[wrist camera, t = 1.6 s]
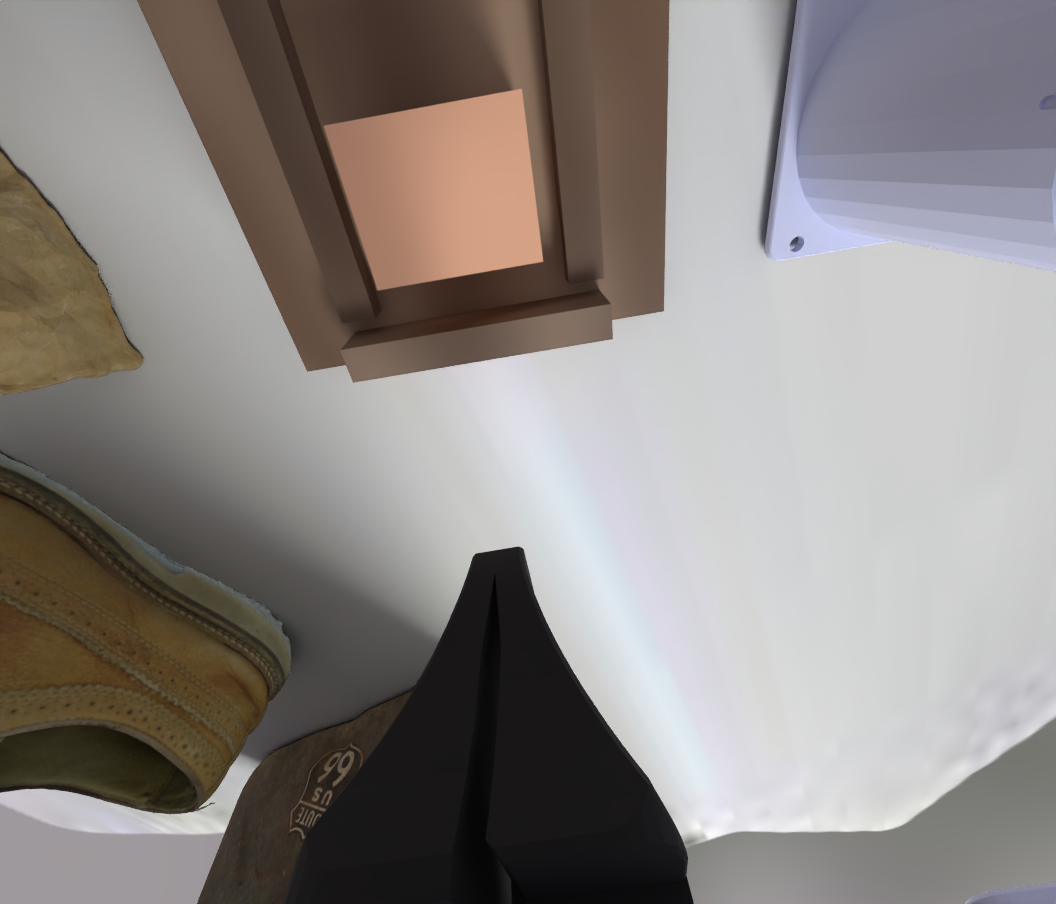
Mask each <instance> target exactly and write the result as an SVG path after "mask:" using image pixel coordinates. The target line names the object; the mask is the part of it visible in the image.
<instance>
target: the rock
mask: <svg viewBox="0 0 1056 904" xmlns="http://www.w3.org/2000/svg"><path fill="white" fill-rule="evenodd" d="M98 272H99V270H98V267H97V266H96V265H95V264H94V262H93V261H92V260H91V259H90V258H89V257H88V256H87V255H86V254H85V253H84V251H83V250H82V249H81V247H80V246H79V245H78V243H77V242H76V240H75V239H74V237H73V236H72V235H71V233H70V232H69V230H68V229H67V228H66V226H65V224H64V222H63V221H62V219H61V218H60V216H59V215H58V214H57V213H56V212H55V210H54V209H52V208H51V207H50V206H48V205H47V203H46V202H45V201H44V199H43V198H42V197H41V196H40V194H39V193H38V191H37V190H36V189H35V187H34V186H33V185H32V184H31V183H30V182H29V181H28V180H27V179H26V178H24V177H23V176H22V175H20V174H19V173H18V172H17V171H16V170H15V168H14V167H13V166H12V164H11V163H10V162H9V160H8V159H7V158H6V157H5V156H4V155H3V154H2V153H1V151H0V394H13V393H19V392H24V391H29V390H33V389H38V388H42V387H46V386H50V385H54V384H58V383H61V382H64V381H67V380H70V379H75V378H86V377H101V376H105V375H107V374H109V373H111V372H116V371H122V370H133V369H137V368H138V367H139V366H140V365H141V364H142V363H143V357H142V356H141V354H140V353H139V352H138V351H136V350H135V349H134V348H132V346H131V345H130V344H129V343H128V341H127V339H126V337H125V335H124V332H123V330H122V327H121V325H120V323H119V321H118V318H117V316H116V315H115V314H114V312H113V310H112V308H111V305H112V303H111V300H110V297H109V294H108V293H107V291H106V289H105V286H104V284H103V283H102V281H101V279H100V277H99V276H98Z"/></svg>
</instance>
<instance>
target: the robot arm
mask: <svg viewBox="0 0 1056 904" xmlns="http://www.w3.org/2000/svg"><path fill="white" fill-rule="evenodd" d="M795 237H798V243H797V245H796V246H795V248H794V249H792V250H790V243H791V241H792V240H793V239H794V238H795ZM893 241H897V242H902V243H907V244H912V245H917V246H922V247H928V248H933V249H938V250H943V251H948V252H954V253H959V254H964V255H969V256H974V257H980V258H985V259H990V260H995V261H1000V262H1006V263H1011V264H1016V265H1021V266H1026V267H1032V268H1037V269H1042V270H1047V271H1052V272H1056V0H797V8H796V15H795V23H794V30H793V38H792V45H791V53H790V60H789V68H788V76H787V83H786V91H785V98H784V106H783V113H782V121H781V128H780V136H779V143H778V151H777V159H776V166H775V174H774V181H773V189H772V196H771V204H770V211H769V219H768V226H767V234H766V242H765V254H766V255H767V257H768V258H770V259H772V260H775V261H782V260H788V259H794V258H800V257H805V256H811V255H817V254H823V253H829V252H835V251H840V250H846V249H852V248H858V247H864V246H870V245H875V244H881V243H887V242H893ZM687 862H688V856H687V852H686V848H685V846H684V843H683V840H682V838H681V836H680V834H679V832H678V830H677V828H676V826H675V824H674V822H673V820H672V818H671V816H670V815H669V813H668V811H667V809H666V808H665V806H664V804H663V802H662V801H661V799H660V797H659V796H658V794H657V792H656V791H655V789H654V787H653V785H652V783H651V781H650V780H649V778H648V777H647V776H646V774H645V773H644V772H643V771H642V769H641V768H640V767H639V766H638V764H637V763H636V762H635V760H634V759H633V758H632V756H631V755H630V754H629V753H628V751H627V750H626V749H625V747H624V746H623V745H622V743H621V742H620V741H619V739H618V738H617V736H616V735H615V734H614V732H613V731H612V730H611V728H610V727H609V725H608V724H607V723H606V721H605V720H604V718H603V717H602V715H601V714H600V712H599V711H598V709H597V708H596V706H595V705H594V703H593V702H592V700H591V699H590V697H589V696H588V694H587V693H586V691H585V690H584V688H583V687H582V685H581V684H580V682H579V680H578V679H577V677H576V675H575V674H574V672H573V670H572V669H571V667H570V665H569V664H568V662H567V660H566V658H565V657H564V655H563V653H562V651H561V649H560V648H559V646H558V644H557V642H556V640H555V638H554V636H553V634H552V632H551V630H550V628H549V626H548V624H547V622H546V620H545V618H544V615H543V613H542V611H541V608H540V606H539V604H538V601H537V599H536V597H535V594H534V590H533V586H532V582H531V578H530V574H529V569H528V565H527V561H526V557H525V553H524V549H523V548H521V547H513V548H507V549H501V550H495V551H489V552H483V553H477V554H475V555H474V556H473V558H472V562H471V565H470V568H469V571H468V574H467V577H466V580H465V583H464V585H463V588H462V591H461V593H460V596H459V598H458V601H457V603H456V605H455V608H454V610H453V612H452V615H451V617H450V620H449V622H448V624H447V626H446V628H445V630H444V633H443V635H442V637H441V639H440V641H439V643H438V645H437V647H436V649H435V651H434V653H433V655H432V657H431V659H430V661H429V662H428V664H427V666H426V668H425V670H424V672H423V673H422V675H421V677H420V679H419V680H418V682H417V684H416V686H415V687H414V689H413V691H412V692H411V694H410V696H409V697H408V699H407V700H406V702H405V703H404V705H403V707H402V708H401V710H400V711H399V713H398V714H397V716H396V718H395V719H394V721H393V722H392V724H391V725H390V727H389V728H388V730H387V731H386V732H385V734H384V735H383V737H382V738H381V740H380V741H379V742H378V744H377V745H376V746H375V748H374V749H373V750H372V752H371V753H370V754H369V756H368V757H367V759H366V760H365V761H364V763H363V764H362V765H361V767H360V768H359V769H358V771H357V772H356V774H355V775H354V776H353V777H352V779H351V780H350V781H349V782H348V784H347V785H346V786H345V787H344V789H343V790H342V791H341V792H340V794H339V795H338V796H337V797H336V798H335V800H334V801H333V802H332V803H331V804H330V806H329V807H328V808H327V809H326V810H325V812H324V813H323V814H322V815H321V817H320V818H319V819H318V820H317V821H316V823H315V824H314V825H313V826H312V827H311V828H310V830H309V831H308V832H307V834H306V836H305V839H304V841H303V844H302V847H301V849H300V852H299V855H298V857H297V859H296V862H295V865H294V868H293V871H292V874H291V877H290V881H289V884H288V887H287V891H286V894H285V898H284V901H283V904H694V903H693V899H692V895H691V891H690V888H689V884H688V880H687V876H686V873H687ZM965 904H1056V882H1050V883H1043V884H1035V885H1027V886H1020V887H1012V888H1004V889H997V890H992V891H987V892H984V893H980V894H977V895H975V896H973V897H971V898H970V899H968V900H967V901H966V903H965Z"/></svg>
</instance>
